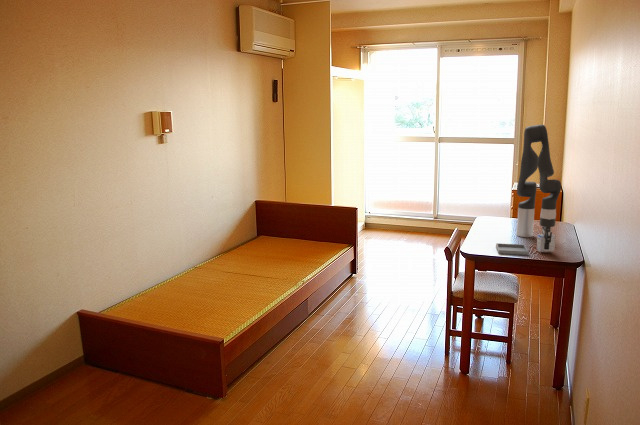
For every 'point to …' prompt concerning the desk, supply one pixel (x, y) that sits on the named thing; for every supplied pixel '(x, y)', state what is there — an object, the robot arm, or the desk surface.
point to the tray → (512, 249)
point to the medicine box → (542, 242)
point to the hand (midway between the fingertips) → (545, 247)
